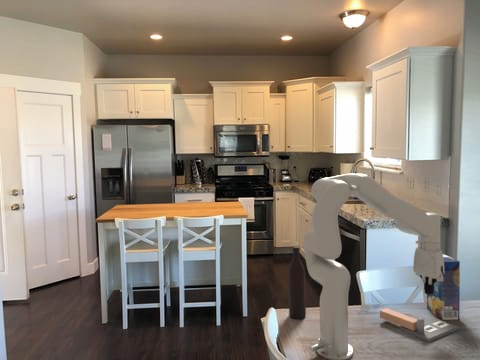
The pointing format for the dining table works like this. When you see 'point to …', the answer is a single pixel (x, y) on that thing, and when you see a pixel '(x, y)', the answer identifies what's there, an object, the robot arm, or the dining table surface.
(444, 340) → the dining table surface
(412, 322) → the swing bar
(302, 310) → the wine bottle
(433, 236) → the robot arm
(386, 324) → the dining table surface
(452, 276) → the juice carton
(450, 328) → the label board
